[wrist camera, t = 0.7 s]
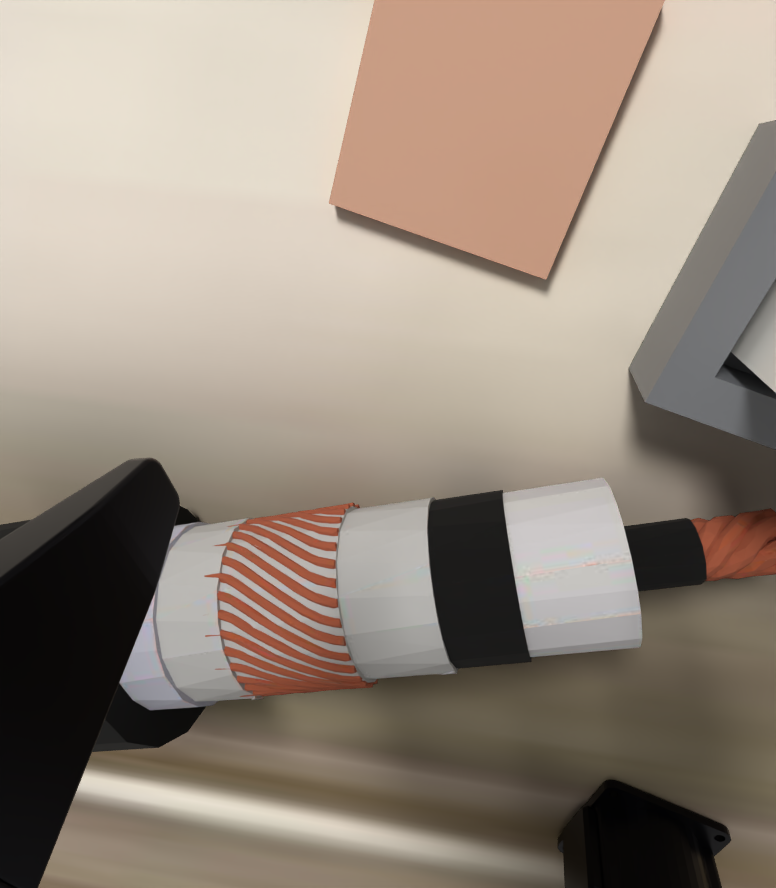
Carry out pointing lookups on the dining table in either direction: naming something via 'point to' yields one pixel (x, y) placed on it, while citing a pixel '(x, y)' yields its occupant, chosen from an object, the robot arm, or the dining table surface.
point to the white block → (760, 340)
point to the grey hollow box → (719, 308)
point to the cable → (403, 595)
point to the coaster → (487, 118)
